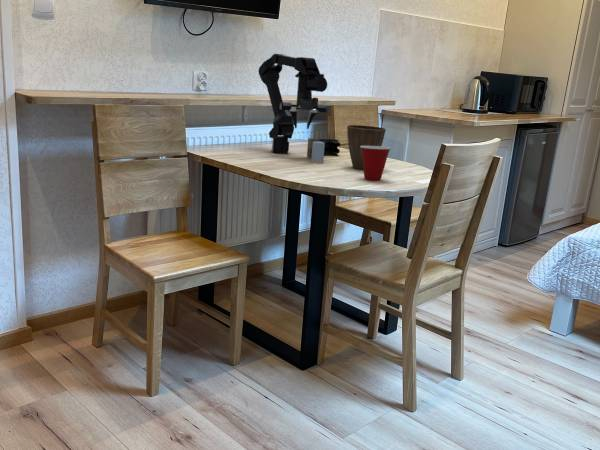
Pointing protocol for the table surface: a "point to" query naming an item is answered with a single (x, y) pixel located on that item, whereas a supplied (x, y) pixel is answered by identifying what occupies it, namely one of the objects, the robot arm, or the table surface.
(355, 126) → the plant pot
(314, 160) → the slate block
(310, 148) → the walnut block
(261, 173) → the table surface
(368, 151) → the plastic cup
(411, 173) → the table surface
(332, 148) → the end cap
